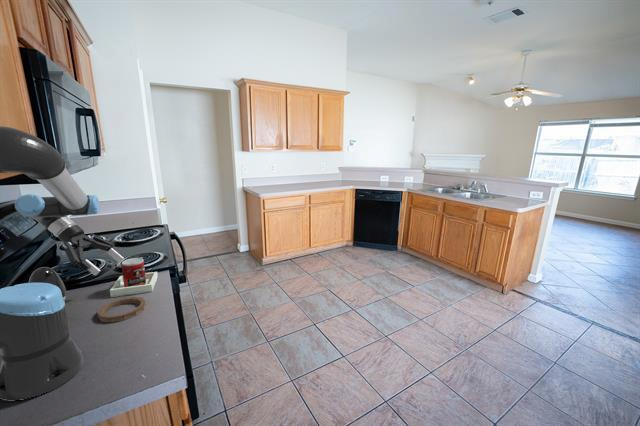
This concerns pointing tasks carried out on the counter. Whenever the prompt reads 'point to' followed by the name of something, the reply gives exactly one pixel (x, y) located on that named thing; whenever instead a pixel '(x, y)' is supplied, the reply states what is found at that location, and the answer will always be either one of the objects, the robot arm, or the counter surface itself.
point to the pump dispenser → (48, 278)
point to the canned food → (133, 272)
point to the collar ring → (121, 316)
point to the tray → (120, 290)
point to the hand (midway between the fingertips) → (110, 266)
